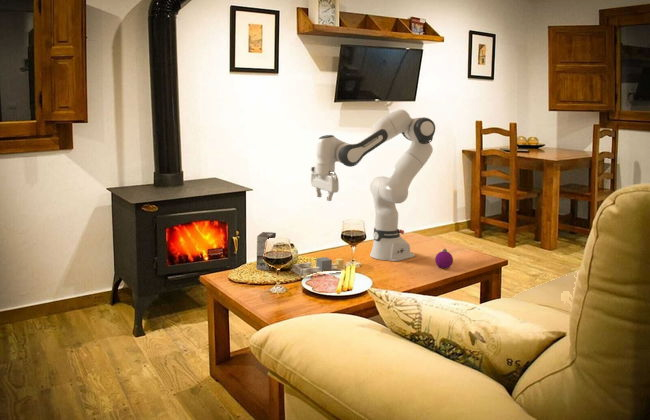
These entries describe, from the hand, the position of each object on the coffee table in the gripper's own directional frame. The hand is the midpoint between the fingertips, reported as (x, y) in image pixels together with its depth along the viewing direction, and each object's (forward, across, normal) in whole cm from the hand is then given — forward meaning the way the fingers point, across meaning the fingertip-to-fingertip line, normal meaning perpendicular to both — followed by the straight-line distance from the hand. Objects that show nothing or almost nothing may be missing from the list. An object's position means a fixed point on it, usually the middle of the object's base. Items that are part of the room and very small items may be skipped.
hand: (324, 198), depth 286 cm
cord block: (+28, -19, +7) cm, 35 cm away
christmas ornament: (+29, -37, -45) cm, 65 cm away
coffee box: (+29, -5, +32) cm, 44 cm away
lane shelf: (+29, -20, +11) cm, 37 cm away
